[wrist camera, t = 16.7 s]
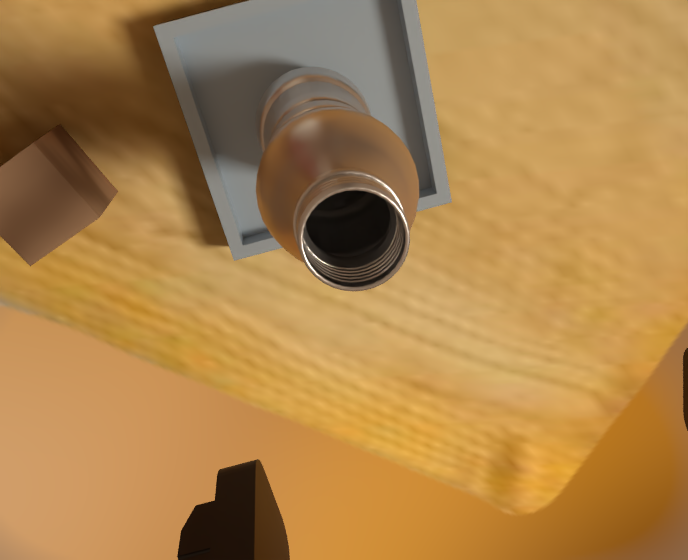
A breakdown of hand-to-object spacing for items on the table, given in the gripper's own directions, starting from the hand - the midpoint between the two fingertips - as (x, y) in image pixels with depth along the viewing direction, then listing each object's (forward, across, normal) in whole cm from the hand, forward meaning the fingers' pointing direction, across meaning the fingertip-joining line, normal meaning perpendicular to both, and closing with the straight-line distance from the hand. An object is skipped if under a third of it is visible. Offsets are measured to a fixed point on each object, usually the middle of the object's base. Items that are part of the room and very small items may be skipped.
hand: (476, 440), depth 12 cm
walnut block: (+31, +17, -1) cm, 35 cm away
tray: (+31, +1, -1) cm, 31 cm away
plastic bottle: (+30, +1, -1) cm, 30 cm away
